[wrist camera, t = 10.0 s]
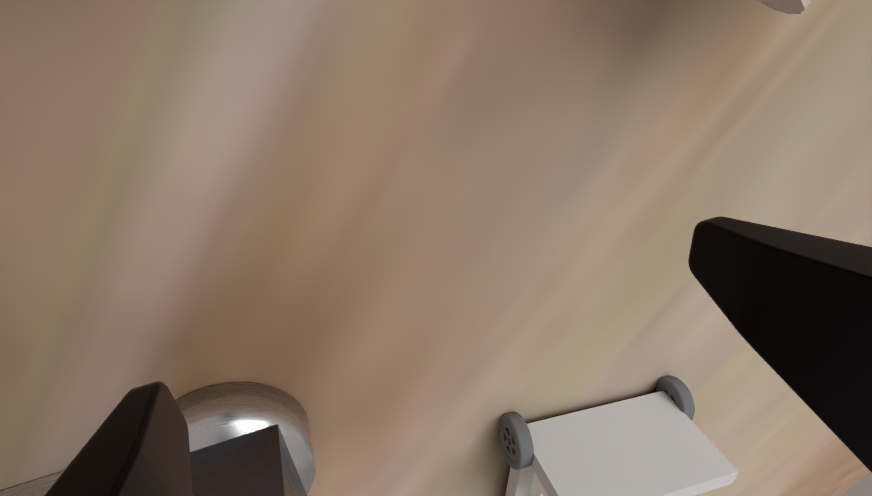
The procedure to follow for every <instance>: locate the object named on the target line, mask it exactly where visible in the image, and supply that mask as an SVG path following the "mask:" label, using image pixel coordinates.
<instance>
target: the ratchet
mask: <svg viewBox="0 0 872 496" xmlns="http://www.w3.org/2000/svg"><path fill="white" fill-rule="evenodd" d="M175 401H176V403H177V405H178V407H179V408H180V410H181V412H182V414H183V416H184V418H185V420H186V423H187V427H188V432H189V447H190V452H192V451H195V450H198V449H201V448H204V447H207V446H211V445H214V444H217V443H220V442H223V441H226V440H229V439H232V438H235V437H239V436H242V435H245V434H248V433H251V432H254V431H257V430H260V429H263V428H266V427H270V426H273V425H276V424H278V426H279V428H280V430H281V433H282V435H283V438H284V440H285V443H286V445H287V448H288V450H289V452H290V455H291V457H292V460H293V462H294V465H295V467H296V470H297V472H298V474H299V477H300V479H301V482H302V484H303V487H304V489H305V492H306V494H307V493H308V492H309V490H310V488H311V486H312V483H313V480H314V475H315V464H314V458H313V451H312V445H311V438H310V432H309V425H308V420H307V416H306V413H305V411H304V409H303V408H302V406H301V405H300V404H299V403H298V402H297V401H296V400H295V399H294V398H293V397H292V396H290V395H289V394H287V393H286V392H284V391H282V390H280V389H277V388H275V387H272V386H268V385H264V384H260V383H252V382H230V383H222V384H216V385H212V386H208V387H204V388H201V389H198V390H195V391H193V392H190V393H188V394H186V395H184V396H182V397H180V398H179V399H177V400H175ZM63 472H64V471H62V472H59V473H56V474H53V475H50V476H46V477H43V478H40V479H37V480H34V481H31V482H27V483H24V484H21V485H18V486H15V487H12V488H8V489H5V490H2V491H0V496H44V495H45V494H46V493H47V491H48V490H49V489H50V488H51V486H52V485H53V484H54V483H55V482H56V480H57V479H58V478H59V477H60V475H61V474H62V473H63Z"/></svg>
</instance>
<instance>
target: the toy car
mask: <svg viewBox="0 0 872 496" xmlns="http://www.w3.org/2000/svg"><path fill="white" fill-rule="evenodd" d="M694 412H695V407H694V401H693V398H692V395H691V393H690V391H689V389H688V388H687V386H686V385H685V384H684V383H683V382H682V381H681V380H680V379H678V378H676V377H674V376H665V377H661V378H659V380H658V383H657V388H656V391H655V393H651V394H647V395H643V396H639V397H635V398H631V399H627V400H623V401H619V402H614V403H610V404H606V405H602V406H598V407H594V408H590V409H586V410H581V411H577V412H573V413H569V414H565V415H561V416H557V417H553V418H549V419H544V420H540V421H536V422H532V423H528V424H526V422H525V420H524V419H523V417H522V416H521V415H520V414H519V413H517V412H511V413H506V414H503V415H502V418H501V430H500V432H499V443H500V446H501V450H502V452H503V455H504V457H505V459H506V461H507V463H508V464H509V465H510V466H511V467H510V473H509V478H508V484H507V489H506V494H505V496H695V495H698V494H701V493H704V492H707V491H710V490H713V489H717V488H720V487H723V486H726V485H729V484H732V483H733V481H734V479H735V478H736V476H737V474H738V472H739V471H738V470H737V469H736V468H735V467H734V466H733V465H732V464H731V463H730V461H729V460H728V459H727V458H726V457H725V456H724V455H723V454H722V453H721V452H720V451H719V450H718V449H717V448H716V446H715V445H714V444H713V443H712V442H711V441H710V440H709V439H708V438H707V437H706V436H705V435H704V434H703V433H702V431H701V430H700V429H699V428H698V427H697V426H696V425H695V424H694V423H693V422H692V421H691V420H692V419H693V417H694Z"/></svg>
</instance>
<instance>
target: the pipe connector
mask: <svg viewBox="0 0 872 496" xmlns="http://www.w3.org/2000/svg"><path fill="white" fill-rule="evenodd" d="M758 1H759V2H761V3H762V4H764V5H766V6H768V7H770V8H772V9H774V10H777V11H780V12H784V13H787V14H800V13H801V12H802V11H803V10H804V9H805V8H806V7H807V5H808V4H809V3H810V2H811V0H758Z"/></svg>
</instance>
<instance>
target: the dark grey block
mask: <svg viewBox="0 0 872 496" xmlns="http://www.w3.org/2000/svg"><path fill="white" fill-rule="evenodd" d="M190 462H191V478H192V494H193V496H307V494H306V492H305V489H304V487H303V484H302V482H301V479H300V477H299V474H298V472H297V470H296V467H295V465H294V462H293V460H292V457H291V455H290V452H289V450H288V448H287V445H286V443H285V440H284V438H283V435H282V433H281V430H280V428H279V426H278V424H276V425H273V426H270V427H266V428H263V429H260V430H257V431H254V432H251V433H248V434H245V435H242V436H239V437H235V438H232V439H229V440H226V441H223V442H220V443H217V444H214V445H211V446H207V447H204V448H201V449H198V450H195V451H192V452H190Z"/></svg>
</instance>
